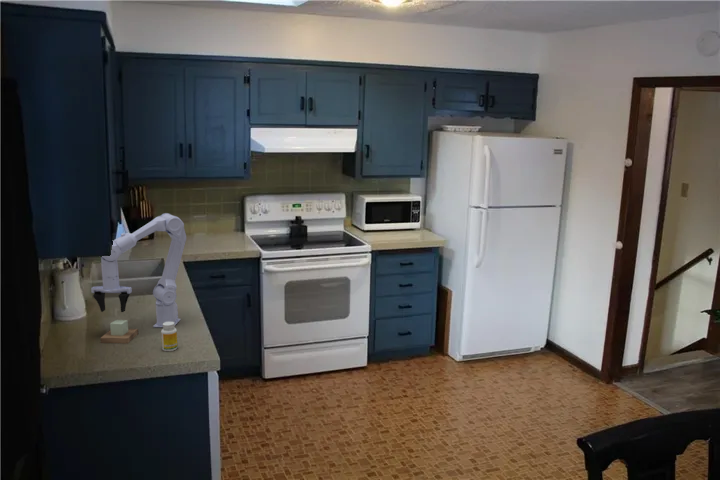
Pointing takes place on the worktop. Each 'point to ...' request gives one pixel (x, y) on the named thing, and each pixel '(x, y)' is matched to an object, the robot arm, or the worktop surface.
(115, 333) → the sage block
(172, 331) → the supplement bottle
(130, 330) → the brown square pad
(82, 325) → the worktop surface
